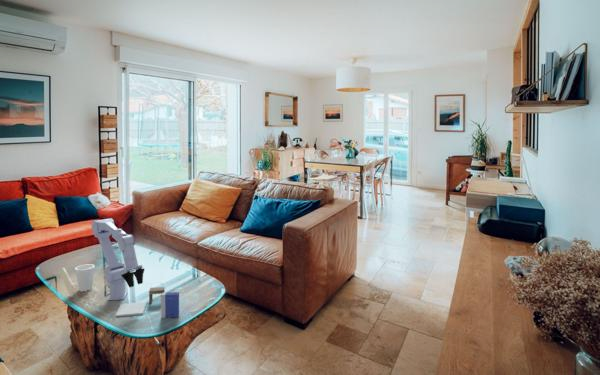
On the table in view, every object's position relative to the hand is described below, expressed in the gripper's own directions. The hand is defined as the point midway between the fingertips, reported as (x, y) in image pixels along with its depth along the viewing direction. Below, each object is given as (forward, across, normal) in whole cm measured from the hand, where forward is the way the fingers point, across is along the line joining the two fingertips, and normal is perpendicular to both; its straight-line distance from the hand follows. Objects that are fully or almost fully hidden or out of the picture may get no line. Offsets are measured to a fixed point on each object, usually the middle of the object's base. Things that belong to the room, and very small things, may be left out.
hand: (136, 285), depth 173 cm
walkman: (+19, -2, -15) cm, 24 cm away
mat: (+11, 0, +5) cm, 12 cm away
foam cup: (-5, +17, +41) cm, 45 cm away
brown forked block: (+12, +11, -2) cm, 16 cm away
